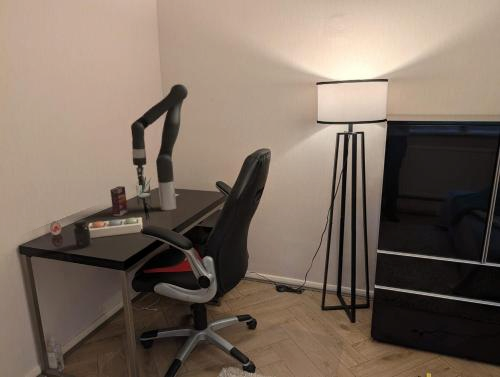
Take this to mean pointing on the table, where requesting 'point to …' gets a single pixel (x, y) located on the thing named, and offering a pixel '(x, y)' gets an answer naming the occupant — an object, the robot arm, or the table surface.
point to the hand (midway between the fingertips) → (141, 183)
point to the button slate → (114, 222)
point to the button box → (115, 229)
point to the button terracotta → (98, 224)
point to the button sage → (131, 221)
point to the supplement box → (118, 200)
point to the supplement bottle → (81, 234)
